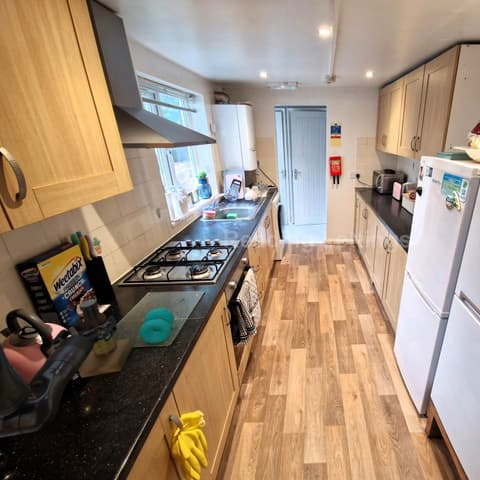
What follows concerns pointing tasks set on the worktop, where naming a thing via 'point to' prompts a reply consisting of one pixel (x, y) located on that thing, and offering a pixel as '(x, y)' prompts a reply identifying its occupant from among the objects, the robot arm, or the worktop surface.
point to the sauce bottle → (91, 321)
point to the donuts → (157, 325)
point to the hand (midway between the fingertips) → (97, 319)
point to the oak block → (107, 360)
